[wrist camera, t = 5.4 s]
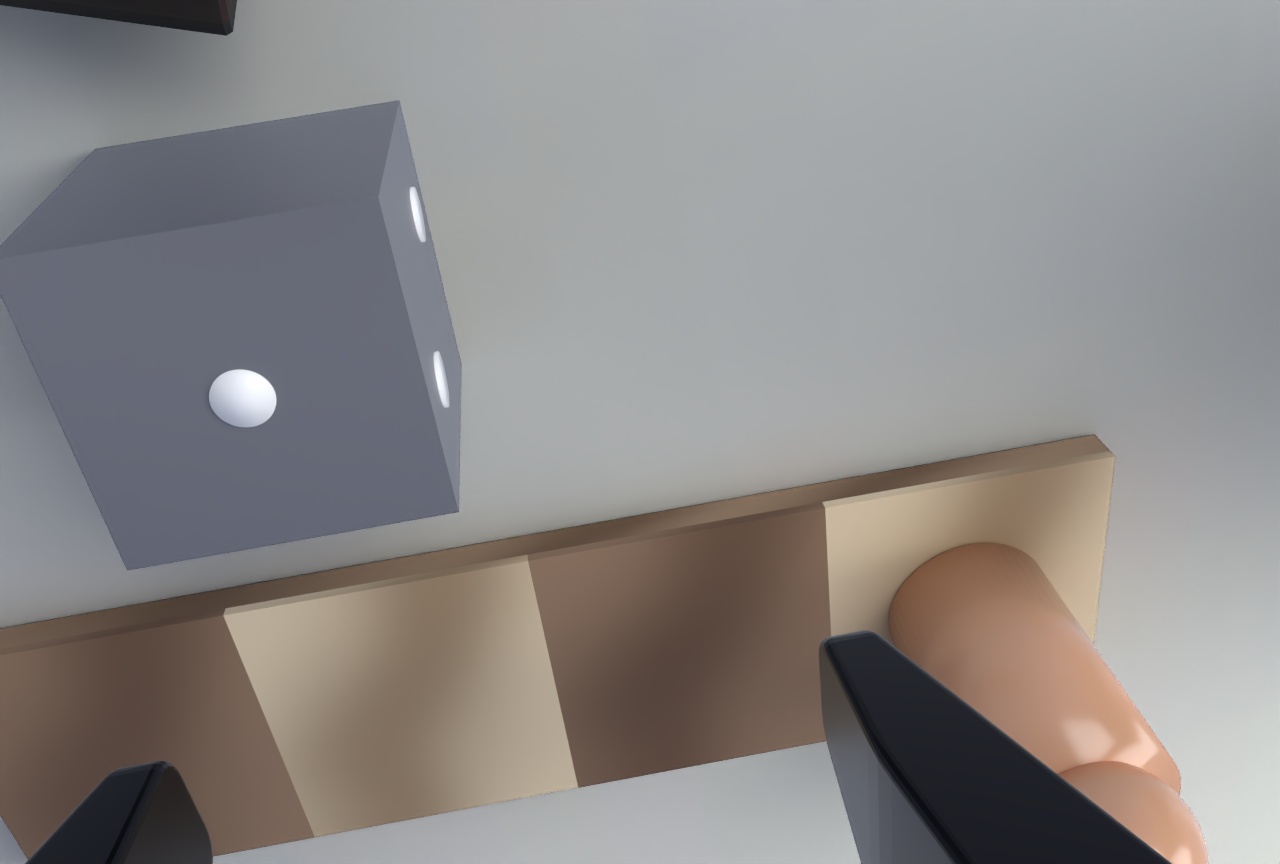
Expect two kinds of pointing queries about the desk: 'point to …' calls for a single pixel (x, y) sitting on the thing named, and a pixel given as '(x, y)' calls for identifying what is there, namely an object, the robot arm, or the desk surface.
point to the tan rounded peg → (1043, 686)
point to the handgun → (146, 12)
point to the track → (515, 652)
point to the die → (245, 334)
